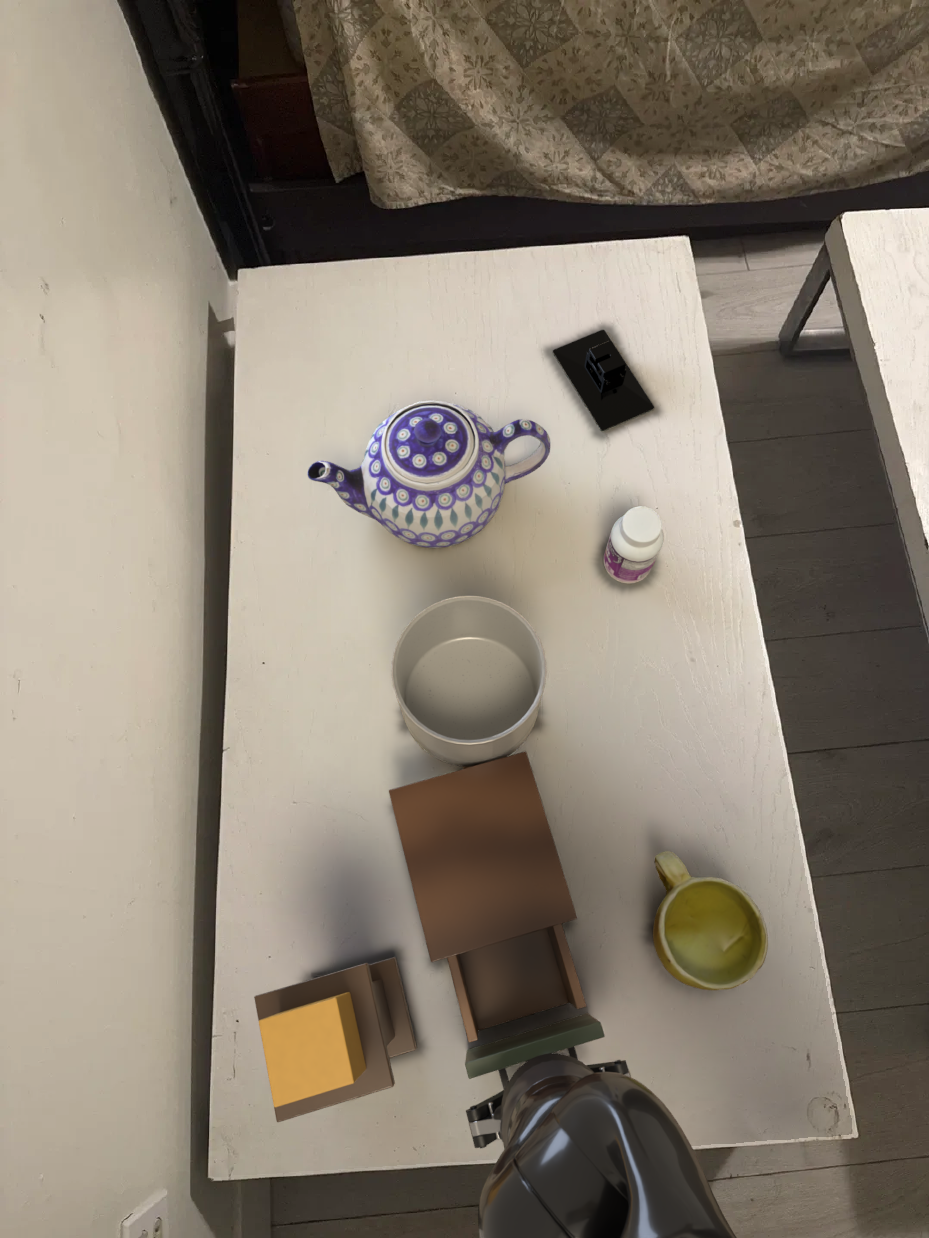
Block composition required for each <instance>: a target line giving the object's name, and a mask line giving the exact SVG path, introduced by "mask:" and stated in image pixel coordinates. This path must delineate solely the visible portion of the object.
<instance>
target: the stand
mask: <svg viewBox="0 0 929 1238" xmlns="http://www.w3.org/2000/svg"><path fill="white" fill-rule="evenodd" d="M347 992H350V995H351V999H352V1004H353V1009H354V1013H355V1018H356V1023H357V1027H358V1032H359V1037H360V1041H361V1046H362V1051H363V1055H364V1060H365V1064H366V1070H365V1071H364V1072H363V1073H362V1074H361V1076H360V1077H359V1078H358V1079H357V1080H356V1081H355V1082H354V1083H353V1084H350V1085H347V1086H343V1087H340V1088H337V1089H334V1090H330V1091H327V1092H324V1093H321V1094H317V1095H314V1096H311V1097H308V1098H305V1099H301V1100H298V1101H295V1102H292V1103H288V1104H285V1105H282V1106H279V1107H274V1106H273V1109H274V1115H275V1120H276V1123H281V1122H284V1121H287V1120H290V1119H295V1118H297V1117H300V1116H304V1115H307V1114H310V1113H313V1112H316V1111H321V1110H322V1109H326V1108H329V1107H332V1106H336V1105H339V1104H342V1103H346V1102H349V1101H352V1100H356V1099H359V1098H361V1097H366V1096H367V1095H368V1096H369V1095H371V1094H374V1093H378V1092H381V1091H384V1090H388V1089H392V1088H393V1087H394V1086H395V1085H396V1082H395V1081H396V1080H395V1077H394V1072H393V1068H392V1063H391V1059H392V1058H394V1057H398V1056H401V1055H404V1054H407V1053H411V1052H414V1051H416V1050H417V1048H418V1044H417V1041H416V1037H415V1033H414V1029H413V1025H412V1020H411V1016H410V1012H409V1007H408V1003H407V999H406V995H405V990H404V986H403V982H402V977H401V974H400V969H399V965H398V961H397V957H396V956H393V957H390V958H385V959H382V960H379V961H376V962H372V963H368V962H364V963H360V964H356V965H353V966H351V967H348V968H344V969H340V970H337V971H334V972H329V973H328V974H324V975H320V976H317V977H314V978H309V979H306V980H304V981H300V982H297V983H294V984H289V985H287V986H284V987H280V988H277V989H274V990H271V991H267V992H264V993H260V994H257V995H254V1003H255V1008H256V1015H257V1020H258V1022H259V1020H261V1019H264V1018H267V1017H269V1016H272V1015H275V1014H277V1013H280V1012H284V1011H287V1010H290V1009H294V1008H297V1007H300V1006H304V1005H307V1004H310V1003H314V1002H317V1001H320V1000H324V999H327V998H330V997H334V996H337V995H340V994H344V993H347Z"/></svg>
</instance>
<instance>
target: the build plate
mask: <svg viewBox="0 0 929 1238" xmlns="http://www.w3.org/2000/svg"><path fill="white" fill-rule="evenodd" d="M552 355H553V356H554V358H555V359H556V361H557V363H558V364H559V366H560V367H561V369H562V371H563V373H564V375H566V378H567V379H568V380H569V382H570V384H571V385H572V388H573V389H574V391H575V392H576V393H577V395H578V397H579V399H580V400H581V402H582V404H583V405H584V406H585V408H586V410H587V411H588V413H589V415H590V416H591V418H592V419H593V422H594V423H595V424H596V426H597V427H598V429H599V431H600V432H602V433H603V432H606V431H608V430H611V429H612V428H615V427H618V426H620V425H622V424H625V423H627V422H629V421H631V420H634V419H636V418H638V417H640V416H643V415H646V414H648V413H650V412H652V411H654V409H655V405H654V403H653V402H652V401H651V399H650V398H649V396H648V395H647V393H646V392H645V390H644V389H643V387H642V386H641V384H640V382H639V381H638V379H637V378H636V376H635V375H634V372H633V371H632V370H631V368H630V367H629V365H628V364H627V362H626V360H625V359H624V357H623V356H622V353H620V351H619V350H618V348H617V346H616V345H615V342H614V340H613V339H612V337H611V336H610V334H609V333H608V332H606V330H605V329H600V330H598V331H595V332H593V333H590V334H589V335H586V336H583V337H581V338H578V339H576V340H573V341H571V342H569V343H566V344H563V345H561V346H558V347H557V348H554V349H553V350H552Z"/></svg>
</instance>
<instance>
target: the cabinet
mask: <svg viewBox="0 0 929 1238" xmlns="http://www.w3.org/2000/svg"><path fill="white" fill-rule="evenodd" d="M388 794H389V799H390V803H391V807H392V810H393V815H394V819H395V822H396V826H397V830H398V834H399V838H400V842H401V846H402V850H403V853H404V854H403V856H404V858H405V863H406V867H407V871H408V875H409V879H410V883H411V887H412V891H413V895H414V899H415V903H416V906H417V907H416V908H417V911H418V915H419V920H420V923H421V927H422V931H423V936H424V940H425V943H426V948H427V951H428V955H429V959H430V960H429V961H430V963H434V962H437V961H441V960H445V959H447V958H448V957H451V956H455V955H458V954H461V953H465V952H468V951H471V950H475V949H478V948H481V947H485V946H488V945H491V944H495V943H498V942H501V941H505V940H508V939H511V938H515V937H518V936H521V935H525V934H528V933H531V932H535V931H538V930H541V929H545V928H548V927H551V926H555V925H558V924H561V923H562V924H564V923H567V922H571V921H575V920H578V914H577V913H576V909H575V906H574V901H573V899H572V895H571V892H570V889H569V886H568V883H567V880H566V877H565V874H564V870H563V866H562V863H561V860H560V856H559V853H558V850H557V847H556V844H555V840H554V837H553V834H552V831H551V827H550V825H549V821H548V818H547V815H546V811H545V808H544V804H543V801H542V799H541V795H540V792H539V788H538V785H537V782H536V778H535V776H534V772H533V769H532V765H531V763H530V760H529V756H528V753H527V751H522V752H518V753H514V754H510V755H508V756H507V757H504V758H500V759H497V760H493V761H490V762H486V763H483V764H479V765H475V766H472V767H468V768H465V769H463V768H462V769H458V770H454V771H452V772H451V771H450V772H448V773H444V774H441V775H437V776H434V777H433V776H432V777H430V778H427V779H423V780H419V781H416V782H412V783H409V784H405V785H401V786H398V787H394V788H391V789H388Z"/></svg>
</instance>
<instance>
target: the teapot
mask: <svg viewBox="0 0 929 1238" xmlns="http://www.w3.org/2000/svg"><path fill="white" fill-rule="evenodd" d="M524 436H531V437H533V438H535V439H537V440H538V441H539V442H540V443H539V445H538V447H537V449H536V450H535V451H534V452H532V454H531V455H530V456H529V457H527V458H525V459H524V460H521V461H519V462H516V463H514V464H511V465H506V460H505V451H506V449H507V447H508V446H509V444H510V443H511V442H512V441H514V440H517V439H518V438H520V437H524ZM550 453H551V438H550V435H549V433H548V432H547V430H546V429H545V428H544V427H543V426H541V425H540V424H538V423H537V422H536V421H533V420H531V419H530V420H529V419H523V418H522V419H516V420H513V421H511V422H510V423H508V424H506V425H504V426H503V427H502V428H500V429H499V430H497V431H494V429H493V428H492V427H491V425H489V424H488V423H487V422H486V421H485V420H484V419H483V418H482V416H480V415H479V414H477V413H476V412H475V411H473V410H471V409H469V408H467V407H465V406H462V405H459V404H456V403H452V402H449V401H442V400H433V399H432V400H420V401H418V402H414V403H410V404H409V405H406V406H405V407H403V408H400V409H398V410H397V411H396V412H393V413H392V414H391V415H389V416H388V417H387V418H386V419H384V420H383V421H382V422H381V423H379V424H378V425H377V427H376V428H375V430H374V431H373V432H372V435H371V437H370V439H369V441H368V443H367V446H366V449H365V452H364V456H363V460H362V462H361V465H359V467H357V468H354V469H346V468H344V467H342V466H340V465H338V464H336V463H334V462H331V461H327V460H319V461H318V460H317V461H315V462H313V463H311V465H310V466H309V467H308V469H307V478H308V479H309V480H310V481H314V482H318V483H322V484H327V485H329V486H330V487H331V488H332V489H333V490H334V491H335V493H336V494H337V495H338V497H339V498H340V499H341V501H343V503H344V504H345V505H346V506H347V507H349V508H351V509H352V510H354V511H355V512H357V513H359V514H361V515H364V516H366V517H368V518H371V519H373V520H375V521H376V522H378V523H379V524H380V525H381V526H382V527H384V529H385V530H386V531H388V532H389V533H390V534H391V535H393V536H395V537H396V538H397V539H399V540H401V541H402V542H403V541H404V542H406V543H407V544H409V545H413V546H416V547H421V548H428V549H429V548H430V549H441V548H448V547H452V546H456V545H460V543H461V544H462V543H463V542H466V541H467V540H469V539H471V538H472V537H474V536H475V535H478V533H480V532H482V530H483V529H484V528H485V527H486V526H487V525H488V524H489V522H490V521H491V520H492V519H493V517H494V516H495V515H496V514H497V511H498V508H499V507H500V503H501V501H502V498H503V496H504V490H505V485H506V484H509V483H511V482H512V481H515V480H519V479H521V478H524V477H525V476H528V475H530V474H531V473H533V472H535V471H536V470H538V469H539V468H541V466H542V465H543V464H545V462H546V460H547V459H548V457H549V455H550Z"/></svg>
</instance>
